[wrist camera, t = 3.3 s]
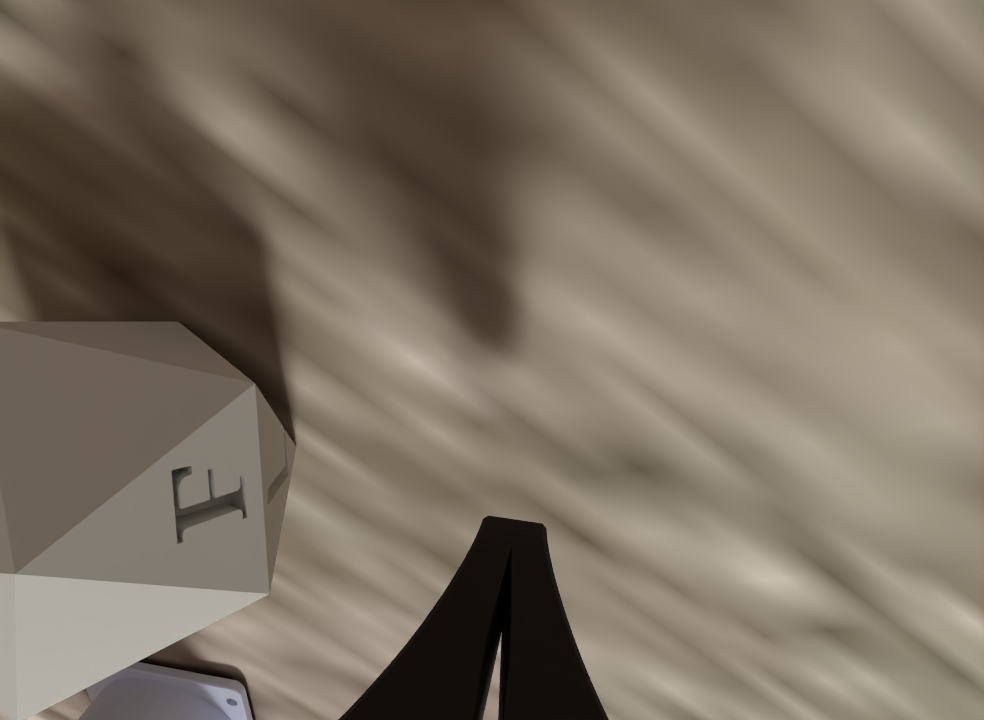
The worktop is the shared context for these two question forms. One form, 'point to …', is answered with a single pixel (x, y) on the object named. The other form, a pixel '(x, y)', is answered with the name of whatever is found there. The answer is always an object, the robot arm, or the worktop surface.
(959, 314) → the worktop surface
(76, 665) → the die
